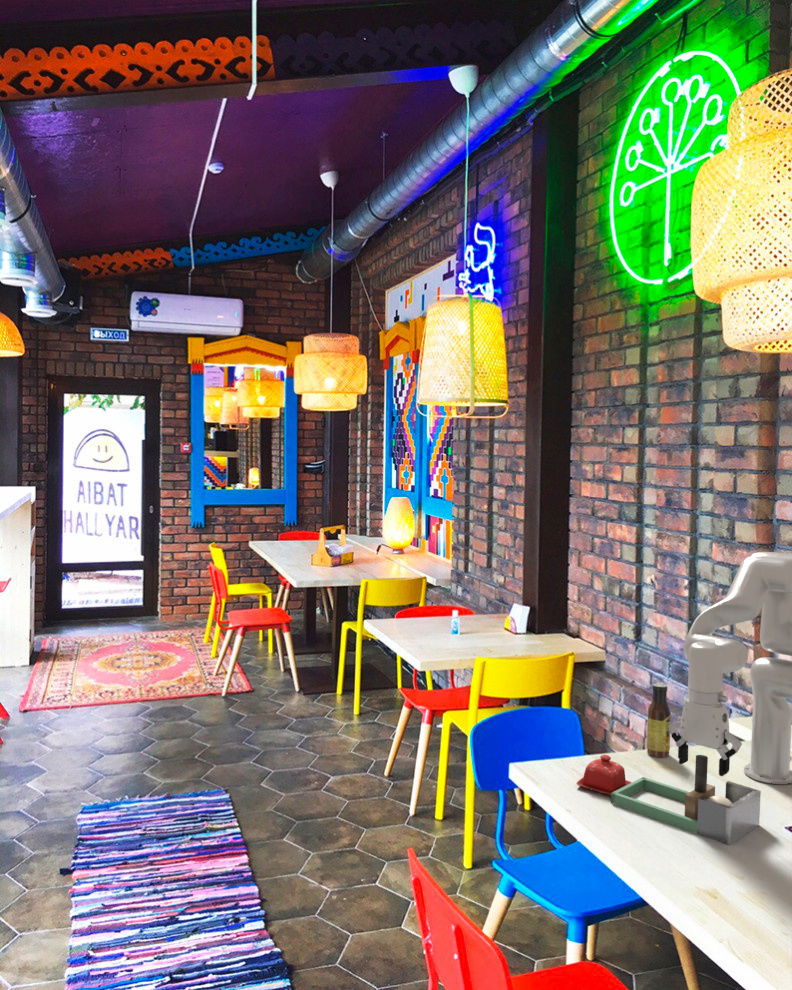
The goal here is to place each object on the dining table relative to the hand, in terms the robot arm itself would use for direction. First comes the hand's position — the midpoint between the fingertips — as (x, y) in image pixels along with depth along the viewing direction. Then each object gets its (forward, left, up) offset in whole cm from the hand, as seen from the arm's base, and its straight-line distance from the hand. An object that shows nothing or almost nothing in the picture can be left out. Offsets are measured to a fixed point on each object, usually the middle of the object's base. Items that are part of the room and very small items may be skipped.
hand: (703, 768), depth 193 cm
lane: (+1, -8, -12) cm, 14 cm away
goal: (+1, +7, -12) cm, 14 cm away
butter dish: (+1, -25, -12) cm, 28 cm away
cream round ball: (0, +5, -12) cm, 13 cm away
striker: (+1, 0, -12) cm, 12 cm away
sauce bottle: (-31, -28, -12) cm, 44 cm away
